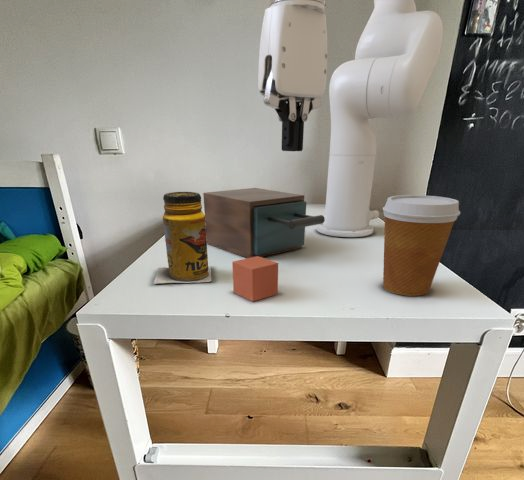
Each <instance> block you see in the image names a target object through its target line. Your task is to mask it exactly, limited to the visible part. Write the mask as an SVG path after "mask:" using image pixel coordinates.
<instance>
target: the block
mask: <svg viewBox="0 0 524 480" xmlns="http://www.w3.org/2000/svg"><path fill="white" fill-rule="evenodd" d="M232 289H233V293H234V294H236V295H237V296H240V297H242V298H244V299H246V300H248V301H250V302H256V301H260V300H263V299H266V298H270V297H272V296H276V295H278V291H279V262H276V261H274V260H271V259H268V258H265V257H259V256H256V257H251V258H243V259H239V260H234V261H232Z"/></svg>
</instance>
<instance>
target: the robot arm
mask: <svg viewBox="0 0 524 480" xmlns="http://www.w3.org/2000/svg"><path fill="white" fill-rule="evenodd" d="M327 3H328V0H269V7H267V8H265V10H264V14H263V19H262V25H261V31H260V39H259V52H258V53H259V54H258V69H257V71H258V73H257V75H258V77H257V83H258V85H257V86H258V91H259V94H260V95H262V96H263V103H264V106H265V105H266V106H267V107H269V108H272V109H274V111H275V112H276V114H277V116H278V117H277V118H278V121H279V122H280V123H281V151H282V152H303V150H304V133H305V132H304V130H305V123H306V122H307V121H308V119H309V115H310V113H311V111H313V110H315V109H319V108H320V107H321V106H322V99H321V98H322V96H323V95H324V94H325V91H326V86H327V76H328V25H327V14H326V13H325V9H326V7H327ZM373 7H374V8H373V10H372V13H371V15H370V17H369V18H368V21H367V23H366V25H365V27H364V28H363V31H362V33H361V35H360V37H359V40H358V42H357V45H356V48H355V53H354V59H352V60H348V61H346V62H343V63H341V64H340V65H338V67H336V69H334V71H333V73H332V75H331V77H330V81H329V87H328V97H329V109H330V111H329V112H330V139H329V141H330V142H329V154H328V169H327V182H326V196H325V207H324V218H325V221H324V223H323V224H318V225H316V231H317V232H318V233H320V234H322V235H326V236H329V237H339V238H359V237H368V236H371V235H373V233H374V229H375V228H374V226H373V225H371V224H370V221H372V220H377V219H379V217H380V212H379V211H378V210H376V209H375V210H371V209H370V205H371V196H372V190H373V189H372V188H373V182H374V174H375V167H376V158H377V153H378V151H377V150H378V141H377V136H376V134H375V131H374V130H373V127H372V126H371V124H370V121H369V119H380V118H381V119H385V118H404V117H407V116H409V115H412V114H413V113H414V112H415V111H416V109H417V108H418V106H419V104H420V102H421V100H422V98H423V96H424V93H425V91H426V89H427V87H428V84H429V81H430V79H431V77H432V74H433V73H434V70H435V68H436V65H437V62H438V60H439V57H440V54H441V51H442V50H441V49H442V44H443V39H444V25H443V21H442V19H441V16H440V15H439V14H438V13H437V12H435V11H433V10H419V11H417V6H416V2H415V0H373Z"/></svg>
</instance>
